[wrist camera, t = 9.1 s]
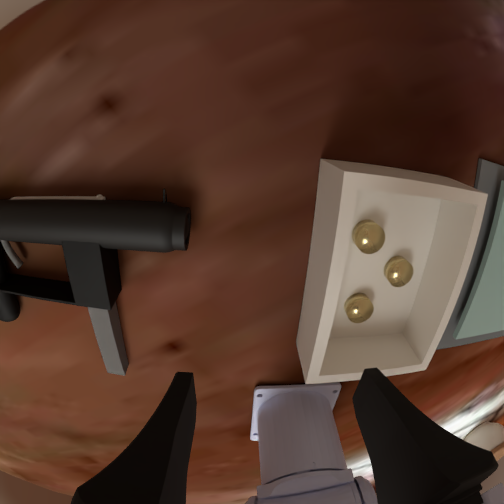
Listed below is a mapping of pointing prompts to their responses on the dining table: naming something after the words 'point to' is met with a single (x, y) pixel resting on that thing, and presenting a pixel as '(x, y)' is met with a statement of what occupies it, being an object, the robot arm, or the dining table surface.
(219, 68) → the dining table surface
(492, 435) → the lidded jar
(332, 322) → the tub
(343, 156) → the dining table surface
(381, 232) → the set of gold balls
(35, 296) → the black toy gun
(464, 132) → the dining table surface
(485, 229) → the mat
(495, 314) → the lid
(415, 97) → the dining table surface
